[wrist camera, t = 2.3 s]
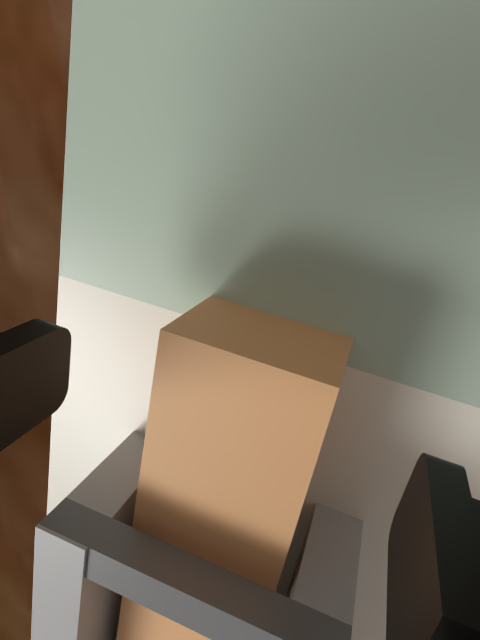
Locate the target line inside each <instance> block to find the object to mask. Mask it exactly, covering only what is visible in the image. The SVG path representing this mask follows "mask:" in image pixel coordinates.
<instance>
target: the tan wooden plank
mask: <svg viewBox="0 0 480 640" xmlns="http://www.w3.org/2000/svg"><path fill="white" fill-rule="evenodd" d="M353 339H354V338H350V337H347V336H344V335H340V334H337V333H334V332H330V331H327V330H324V329H320V328H317V327H314V326H310V325H307V324H304V323H300V322H297V321H294V320H291V319H287V318H284V317H281V316H277V315H274V314H271V313H267V312H264V311H261V310H257V309H254V308H251V307H247V306H244V305H241V304H237V303H234V302H231V301H227V300H224V299H221V298H217V297H214V296H210V297H208V298H207V299H205V300H204V301H202V302H201V303H199V304H198V305H196V306H195V307H193V308H192V309H190V310H189V311H187V312H186V313H184V314H183V315H181V316H180V317H178V318H176V319H175V320H173V321H172V322H170V323H169V324H167V325H166V326H164V327H163V328H161V329H160V333H159V340H158V347H157V354H156V361H155V368H154V375H153V382H152V389H151V396H150V404H149V411H148V418H147V425H146V432H145V439H144V446H143V453H142V460H141V467H140V474H139V481H138V488H137V495H136V503H135V510H134V517H133V524H132V527H133V528H135V529H137V530H140V531H142V532H144V533H146V534H148V535H151V536H153V537H155V538H157V539H160V540H162V541H164V542H166V543H168V544H171V545H173V546H175V547H177V548H180V549H182V550H184V551H186V552H189V553H191V554H193V555H195V556H197V557H200V558H202V559H204V560H206V561H209V562H211V563H213V564H215V565H217V566H220V567H222V568H224V569H226V570H229V571H231V572H233V573H235V574H237V575H240V576H242V577H244V578H246V579H249V580H251V581H253V582H255V583H258V584H260V585H262V586H264V587H266V588H269V589H271V590H273V591H275V592H276V589H277V585H278V582H279V579H280V576H281V573H282V570H283V566H284V563H285V560H286V557H287V554H288V551H289V547H290V544H291V541H292V538H293V535H294V532H295V528H296V525H297V522H298V519H299V516H300V513H301V509H302V506H303V503H304V500H305V497H306V494H307V490H308V487H309V484H310V481H311V478H312V475H313V471H314V468H315V465H316V462H317V459H318V456H319V452H320V449H321V446H322V443H323V440H324V437H325V433H326V430H327V427H328V424H329V421H330V417H331V414H332V411H333V408H334V405H335V402H336V398H337V395H338V392H339V389H340V385H341V382H342V378H343V375H344V371H345V368H346V364H347V360H348V357H349V353H350V350H351V346H352V342H353ZM116 640H211V639H209V638H207V637H205V636H203V635H201V634H199V633H197V632H195V631H193V630H191V629H189V628H187V627H185V626H183V625H181V624H178V623H176V622H174V621H172V620H170V619H168V618H166V617H164V616H162V615H160V614H158V613H156V612H154V611H152V610H150V609H148V608H146V607H144V606H142V605H140V604H138V603H136V602H134V601H132V600H130V599H128V598H126V597H124V596H122V601H121V609H120V616H119V623H118V630H117V637H116Z"/></svg>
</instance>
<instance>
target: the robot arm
mask: <svg viewBox="0 0 480 640" xmlns="http://www.w3.org/2000/svg"><path fill="white" fill-rule="evenodd" d="M70 356H71V334H70V332H69V330H68V329H66V328H64V327H61V326H58V325H55V324H52V323H49V322H47V321H44V320H41V319H33V320H31V321H28V322H26V323H23V324H21V325H19V326H16V327H14V328H11V329H9V330H7V331H4V332H2V333H0V451H1V450H3V449H4V448H6V447H7V446H8V445H10V444H11V443H13V442H14V441H15V440H17V439H18V438H20V437H21V436H22V435H24V434H25V433H27V432H28V431H29V430H31V429H32V428H34V427H35V426H36V425H38V424H39V423H41V422H42V421H43V420H45V419H46V418H47V417H49V416H50V415H52V414H53V413H54V412H56V411H57V410H58V409H59V407H60V406H61V405H62V403H63V401H64V400H65V397H66V395H67V392H68V386H69V372H70ZM386 640H480V500H477V499H475V498H472V496H471V492H470V487H469V483H468V478H467V474H466V470H465V468H464V467H463V466H461V465H458V464H455V463H452V462H449V461H446V460H444V459H441V458H438V457H435V456H432V455H429V454H426V453H422V454H421V455H420V457H419V458H418V460H417V462H416V464H415V467H414V469H413V472H412V474H411V476H410V479H409V481H408V483H407V486H406V488H405V490H404V493H403V495H402V498H401V500H400V502H399V505H398V507H397V509H396V512H395V514H394V517H393V521H392V524H391V528H390V533H389V540H388V566H387V611H386Z"/></svg>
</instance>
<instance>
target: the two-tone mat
mask: <svg viewBox="0 0 480 640" xmlns="http://www.w3.org/2000/svg"><path fill="white" fill-rule="evenodd" d="M210 296H214V297H217V298H221V299H224V300H227V301H231V302H234V303H237V304H241V305H244V306H247V307H251V308H254V309H257V310H261V311H264V312H267V313H271V314H274V315H277V316H281V317H284V318H287V319H291V320H294V321H297V322H300V323H304V324H307V325H310V326H314V327H317V328H320V329H324V330H327V331H330V332H334V333H337V334H340V335H344V336H347V337H350V338H354V339H353V342H352V346H351V350H350V353H349V357H348V360H347V364H346V368H345V371H344V375H343V378H342V382H341V385H340V389H339V392H338V395H337V398H336V402H335V405H334V408H333V411H332V414H331V417H330V421H329V424H328V427H327V430H326V433H325V437H324V440H323V443H322V446H321V449H320V452H319V456H318V459H317V462H316V465H315V468H314V471H313V475H312V478H311V481H310V484H309V487H308V490H307V494H306V497H305V500H304V503H303V506H302V509H301V513H300V516H299V519H298V522H297V525H296V528H295V532H294V535H293V538H292V541H291V544H290V547H289V551H288V554H287V557H286V560H285V563H284V566H283V570H282V573H281V576H280V579H279V582H278V585H277V589H276V592H275V591H273V590H271V589H269V588H266V587H264V586H262V585H260V584H258V583H255V582H253V581H251V580H249V579H246V578H244V577H242V576H240V575H237V574H235V573H233V572H231V571H229V570H226V569H224V568H222V567H220V566H217V565H215V564H213V563H211V562H209V561H206V560H204V559H202V558H200V557H197V556H195V555H193V554H191V553H189V552H186V551H184V550H182V549H180V548H177V547H175V546H173V545H171V544H168V543H166V542H164V541H162V540H160V539H157V538H155V537H153V536H151V535H148V534H146V533H144V532H142V531H140V530H137V529H135V528H133V527H132V524H133V517H134V510H135V503H136V495H137V488H138V481H139V474H140V467H141V460H142V453H143V446H144V439H145V432H146V425H147V418H148V411H149V404H150V396H151V389H152V382H153V375H154V368H155V361H156V354H157V347H158V340H159V333H160V329H161V328H163V327H164V326H166V325H167V324H169V323H170V322H172V321H173V320H175V319H176V318H178V317H180V316H181V315H183V314H184V313H186V312H187V311H189V310H190V309H192V308H193V307H195V306H196V305H198V304H199V303H201V302H202V301H204V300H205V299H207V298H208V297H210ZM56 325H58V326H61V327H64V328H66V329H68V330H69V332H70V334H71V356H70V372H69V386H68V392H67V395H66V397H65V400H64V401H63V403H62V405H61V406H60V407H59V409H58V410H57V411H56V412H54V413H53V414H52V423H51V443H50V463H49V483H48V503H47V516H46V517H45V518H44V519H43V520H42V521H41V522H40V523H39V524H38V525H37V526H36V527H35V549H34V574H33V600H32V626H31V640H116V637H117V630H118V623H119V616H120V609H121V601H122V596H124V597H126V598H128V599H130V600H132V601H134V602H136V603H138V604H140V605H142V606H144V607H146V608H148V609H150V610H152V611H154V612H156V613H158V614H160V615H162V616H164V617H166V618H168V619H170V620H172V621H174V622H176V623H178V624H181V625H183V626H185V627H187V628H189V629H191V630H193V631H195V632H197V633H199V634H201V635H203V636H205V637H207V638H209V639H211V640H386V611H387V566H388V540H389V533H390V528H391V524H392V521H393V517H394V514H395V512H396V509H397V507H398V505H399V502H400V500H401V498H402V495H403V493H404V490H405V488H406V486H407V483H408V481H409V479H410V476H411V474H412V472H413V469H414V467H415V464H416V462H417V460H418V458H419V457H420V455H421V454H422V453H426V454H429V455H432V456H435V457H438V458H441V459H444V460H446V461H449V462H452V463H455V464H458V465H461V466H463V467H464V468H465V470H466V474H467V478H468V483H469V487H470V492H471V496H472V498H475V499H477V500H480V0H73V6H72V26H71V46H70V66H69V86H68V105H67V125H66V145H65V165H64V185H63V205H62V225H61V244H60V264H59V284H58V304H57V324H56Z"/></svg>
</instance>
